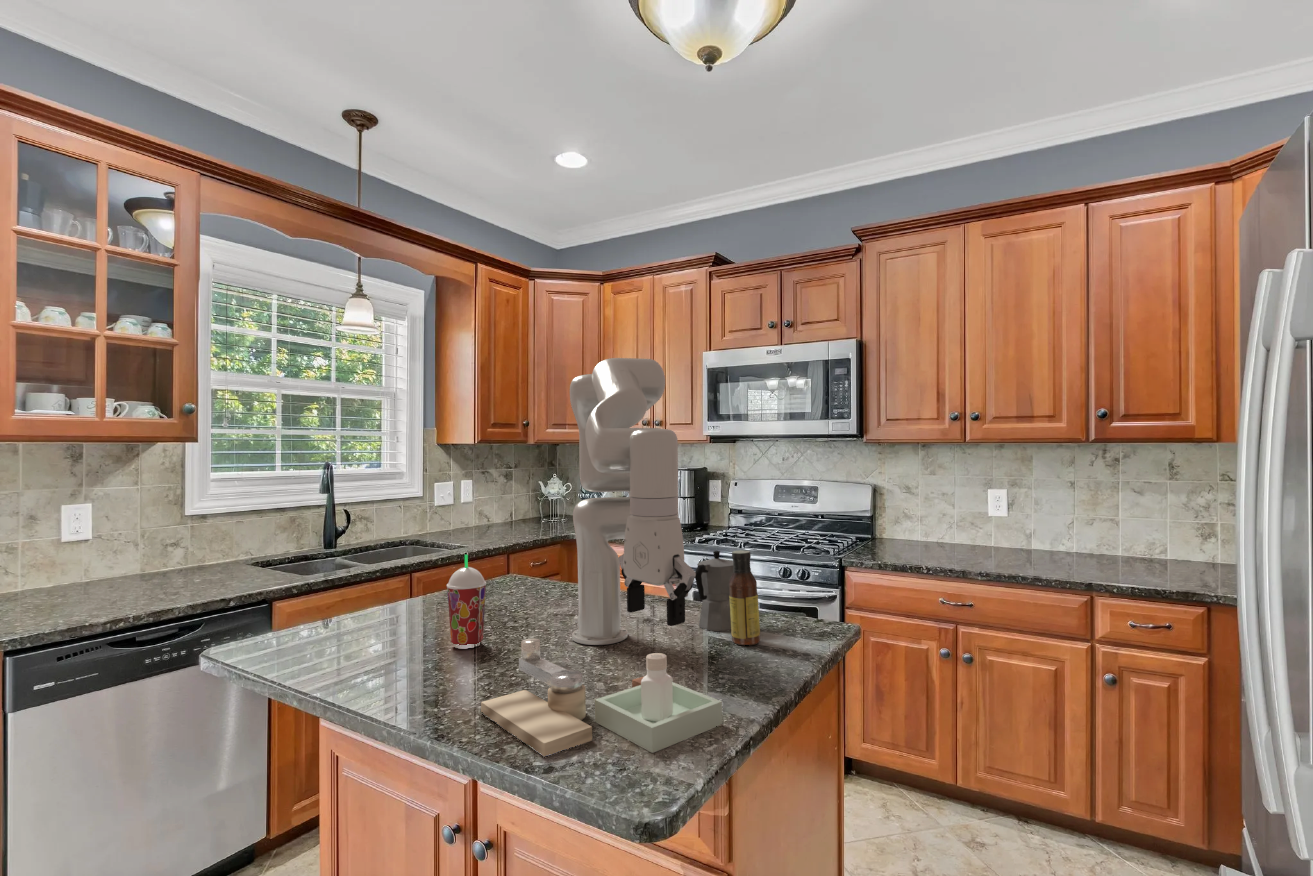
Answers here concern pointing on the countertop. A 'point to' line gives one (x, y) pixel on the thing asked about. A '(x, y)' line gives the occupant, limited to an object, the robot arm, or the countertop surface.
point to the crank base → (544, 718)
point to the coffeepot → (714, 592)
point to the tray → (685, 722)
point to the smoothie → (466, 605)
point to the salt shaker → (656, 689)
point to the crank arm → (547, 669)
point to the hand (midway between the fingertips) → (655, 617)
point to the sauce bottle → (743, 601)
